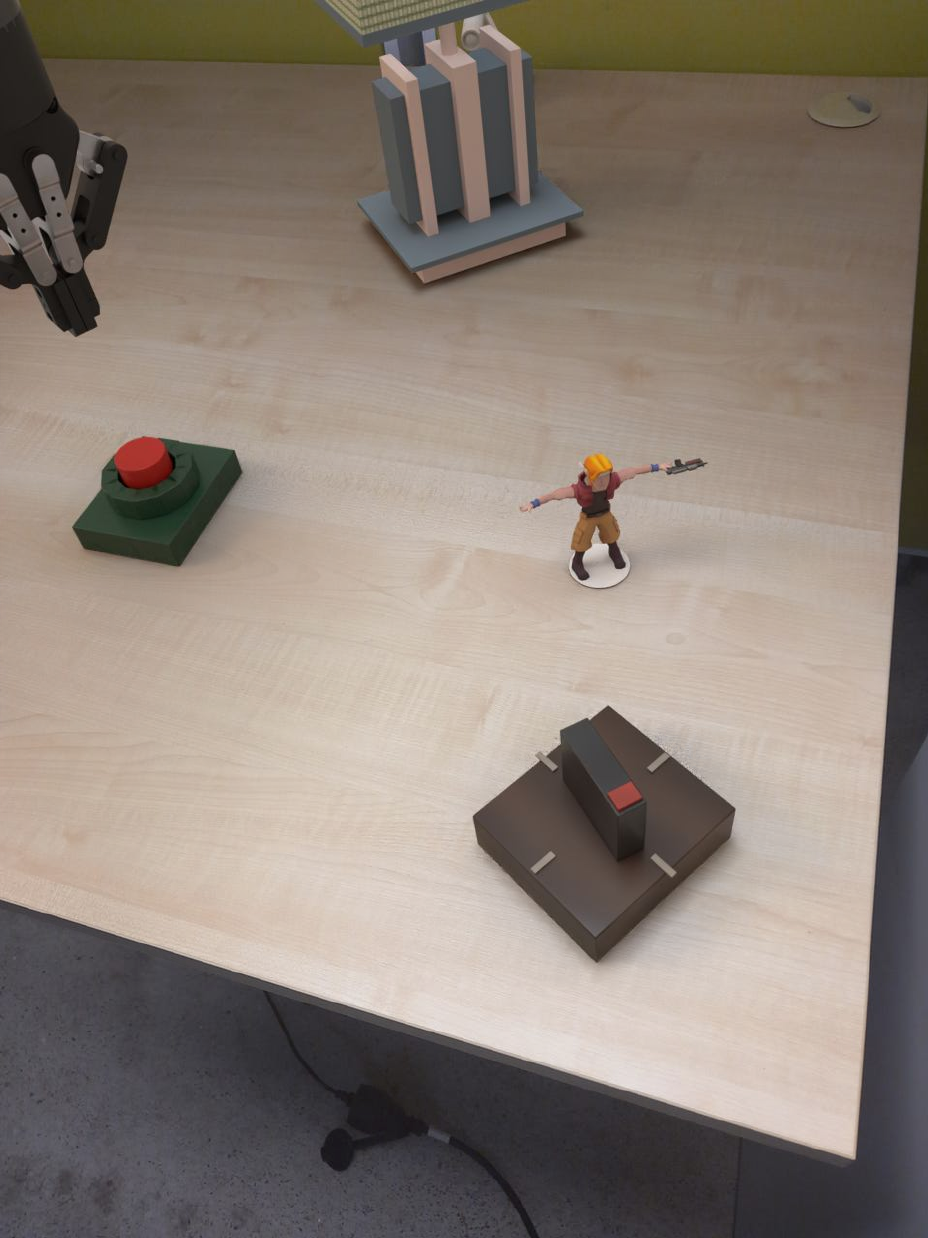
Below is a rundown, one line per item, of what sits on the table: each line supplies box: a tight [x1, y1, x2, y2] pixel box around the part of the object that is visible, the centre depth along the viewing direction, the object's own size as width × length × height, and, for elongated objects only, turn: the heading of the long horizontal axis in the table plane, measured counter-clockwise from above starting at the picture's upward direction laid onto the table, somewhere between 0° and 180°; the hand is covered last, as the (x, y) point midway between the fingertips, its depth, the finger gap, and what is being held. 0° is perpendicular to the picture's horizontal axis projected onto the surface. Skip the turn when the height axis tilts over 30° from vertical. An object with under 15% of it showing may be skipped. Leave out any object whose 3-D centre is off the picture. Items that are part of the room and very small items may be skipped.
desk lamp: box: [313, 0, 585, 284], centre depth 84 cm, size 18×14×33 cm
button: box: [114, 436, 173, 489], centre depth 72 cm, size 4×4×2 cm
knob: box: [559, 717, 647, 861], centre depth 50 cm, size 6×2×5 cm, turn 26°
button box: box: [71, 435, 243, 567], centre depth 74 cm, size 10×8×4 cm
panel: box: [471, 705, 737, 963], centre depth 53 cm, size 10×10×3 cm
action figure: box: [518, 453, 709, 589], centre depth 64 cm, size 12×3×9 cm, turn 107°
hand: (80, 327), depth 62 cm, fingers closed
